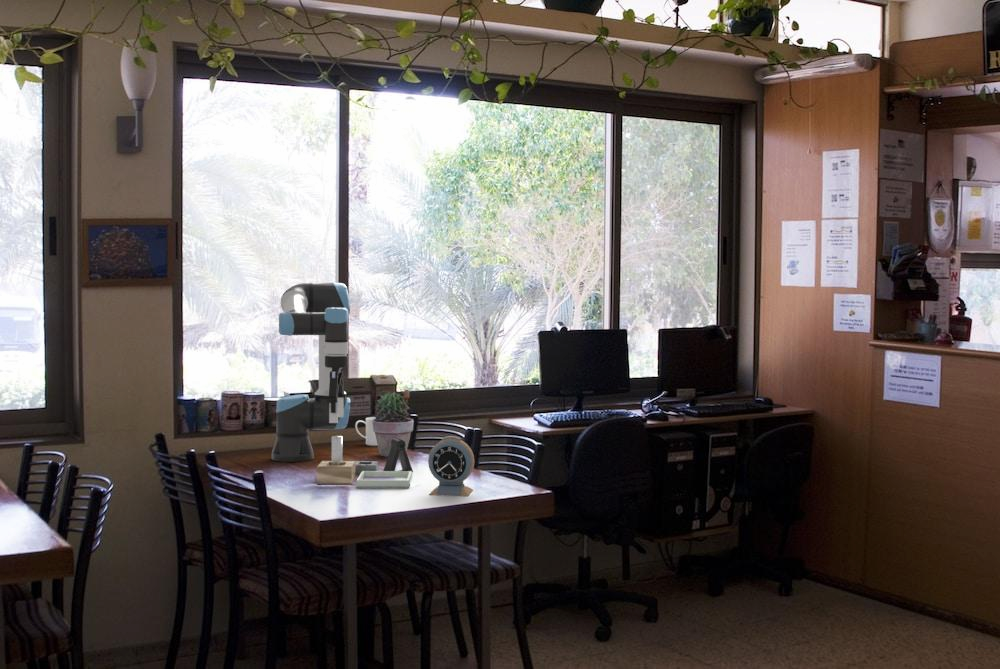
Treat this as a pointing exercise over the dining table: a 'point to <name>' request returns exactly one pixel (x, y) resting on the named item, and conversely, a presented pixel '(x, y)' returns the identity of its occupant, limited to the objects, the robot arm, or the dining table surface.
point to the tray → (384, 483)
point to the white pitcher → (368, 432)
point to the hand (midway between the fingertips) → (336, 420)
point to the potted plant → (392, 421)
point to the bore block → (335, 473)
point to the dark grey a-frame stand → (396, 450)
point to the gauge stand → (365, 466)
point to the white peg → (337, 450)
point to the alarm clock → (451, 466)
